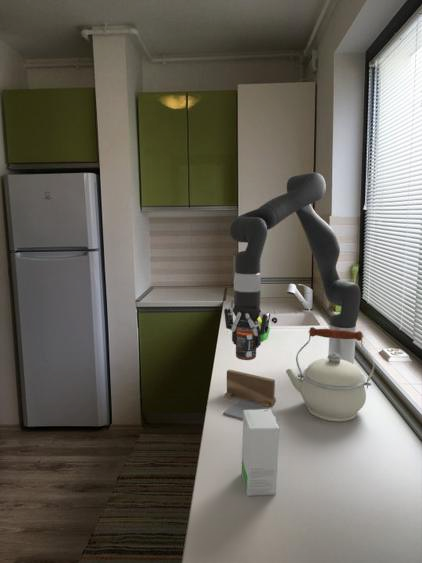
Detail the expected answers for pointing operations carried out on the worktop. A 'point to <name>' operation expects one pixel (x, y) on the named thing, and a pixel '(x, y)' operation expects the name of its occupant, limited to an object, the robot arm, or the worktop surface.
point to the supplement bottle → (245, 341)
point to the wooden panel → (250, 388)
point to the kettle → (332, 381)
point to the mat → (241, 405)
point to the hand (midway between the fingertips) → (246, 345)
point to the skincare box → (260, 452)
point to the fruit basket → (265, 336)
